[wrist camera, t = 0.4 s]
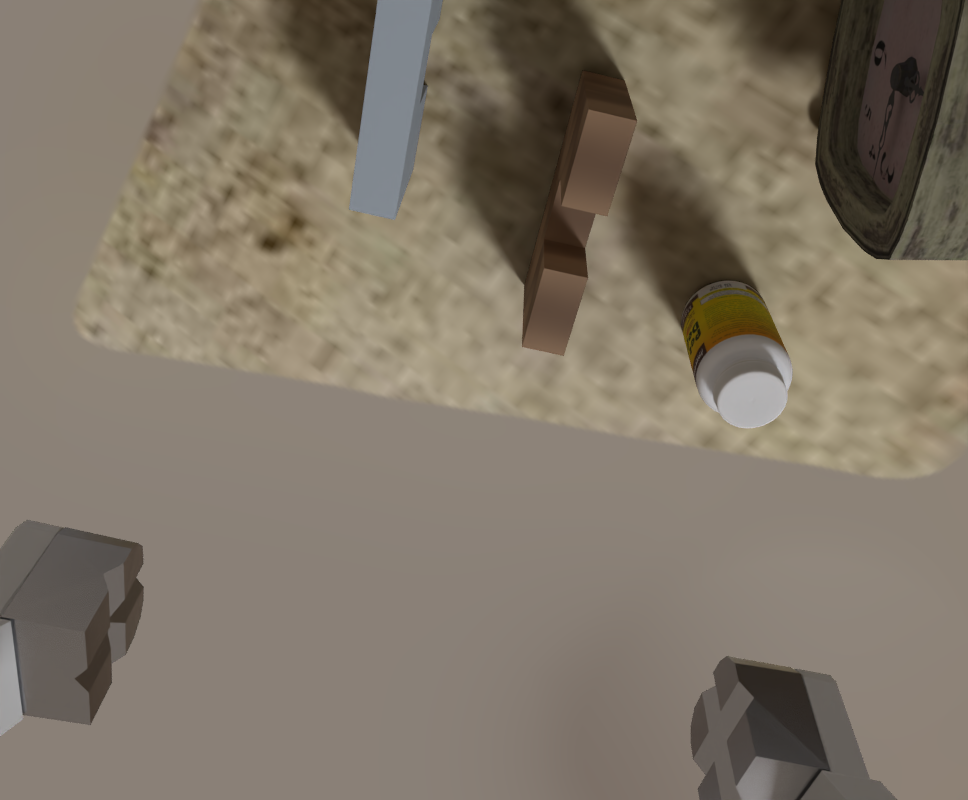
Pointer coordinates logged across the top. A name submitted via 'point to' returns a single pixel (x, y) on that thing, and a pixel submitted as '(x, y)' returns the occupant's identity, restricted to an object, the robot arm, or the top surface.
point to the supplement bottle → (736, 354)
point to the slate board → (393, 104)
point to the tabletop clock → (898, 128)
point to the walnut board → (576, 208)
